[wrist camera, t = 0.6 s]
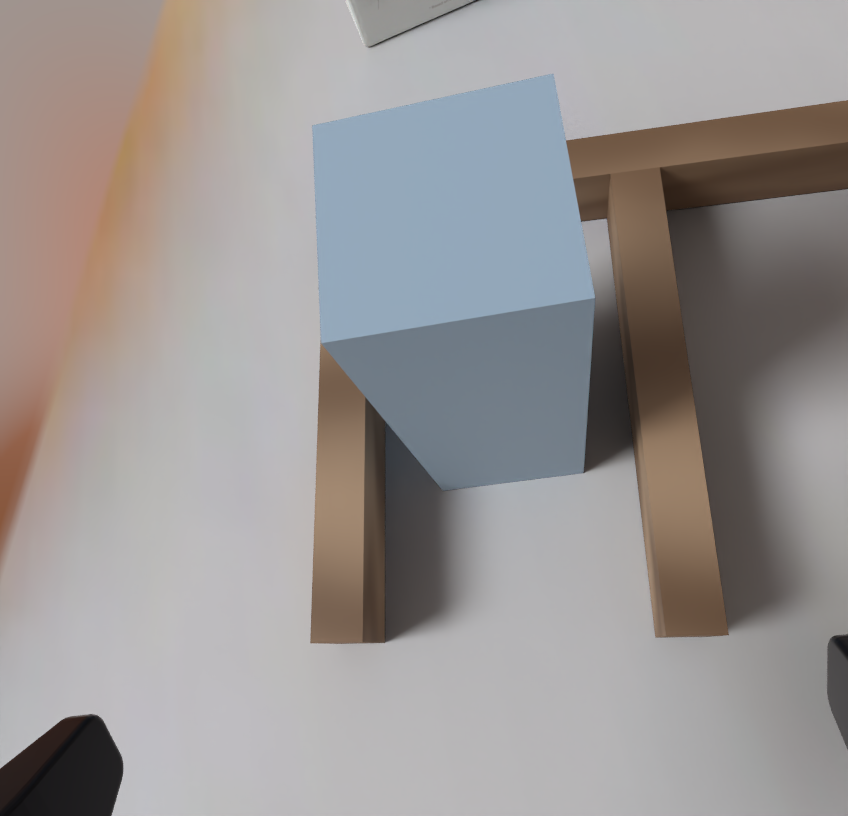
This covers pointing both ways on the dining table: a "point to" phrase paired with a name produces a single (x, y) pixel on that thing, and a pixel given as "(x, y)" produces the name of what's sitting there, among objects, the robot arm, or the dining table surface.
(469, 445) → the pale blue tall block
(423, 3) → the small box
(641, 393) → the comb rack
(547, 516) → the dining table surface
